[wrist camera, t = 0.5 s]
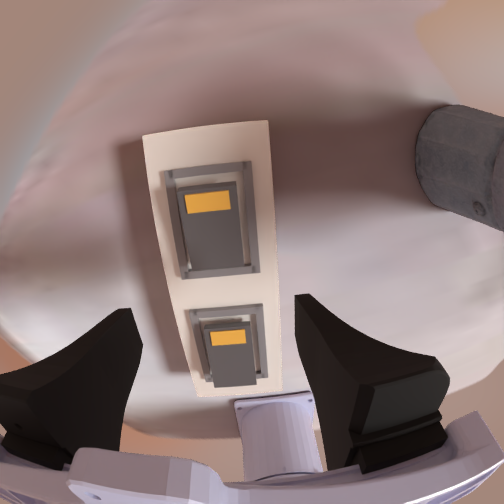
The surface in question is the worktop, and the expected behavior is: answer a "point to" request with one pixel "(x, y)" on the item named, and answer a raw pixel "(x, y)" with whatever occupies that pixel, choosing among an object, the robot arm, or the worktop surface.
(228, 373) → the rocker
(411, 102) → the worktop surface
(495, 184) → the moka pot
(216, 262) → the rocker
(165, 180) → the power strip
